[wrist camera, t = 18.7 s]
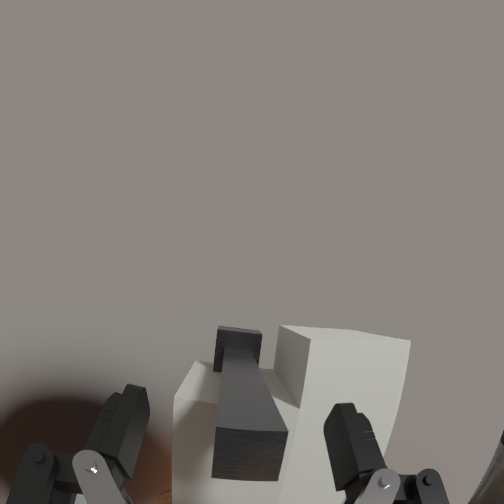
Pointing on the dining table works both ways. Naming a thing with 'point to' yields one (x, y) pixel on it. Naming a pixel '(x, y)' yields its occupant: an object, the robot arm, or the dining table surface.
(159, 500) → the dining table surface
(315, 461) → the two tier stand
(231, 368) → the metal bar
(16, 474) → the robot arm
